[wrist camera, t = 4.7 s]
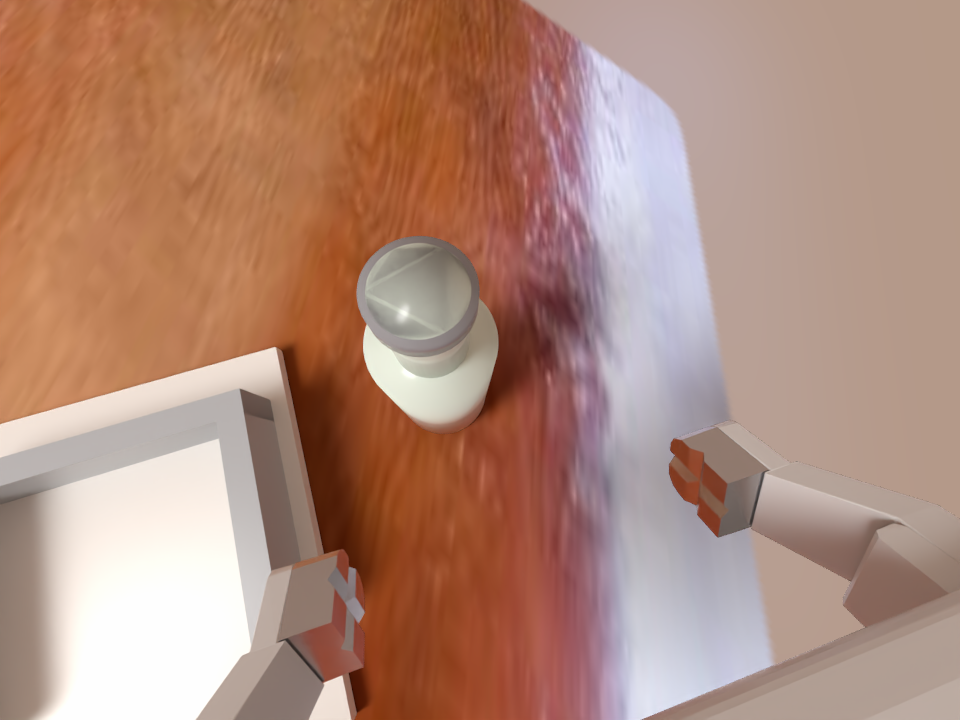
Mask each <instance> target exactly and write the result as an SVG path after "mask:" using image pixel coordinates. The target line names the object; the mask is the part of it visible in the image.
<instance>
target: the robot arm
mask: <svg viewBox="0 0 960 720" xmlns="http://www.w3.org/2000/svg"><path fill="white" fill-rule="evenodd" d="M670 451H671V452H672V453H673V454H674V455H675V456H674V458H673V459H672V460H671V462H670V463H669V475H670V478H671V481H672V483H673V485H674V487H675V489H676V490H677V492H678V493H679V494H680V495H681V497H682V498H683V499H684V500H685V501H688V502H690V503H692V504H695V505H697V515H698V516H699V517H700V518H701V519H702V521H703V522H704V523H705V524H706V525H707V526H708V527H709V528H710V530H711V531H712V532H713V533H714V534H715V535H716V536H717V537H721V536H724V535H727V534H730V533H734V532H737V531H740V530H743V529H746V528H749V527H751V529H752V530H754V531H756V532H758V533H760V534H762V535H764V536H766V537H768V538H770V539H772V540H774V541H775V542H777V543H779V544H781V545H783V546H785V547H787V548H789V549H791V550H792V551H794V552H796V553H798V554H800V555H802V556H804V557H806V558H807V559H809V560H811V561H813V562H815V563H817V564H819V565H821V566H823V567H825V568H826V569H828V570H830V571H832V572H834V573H836V574H838V575H840V576H842V577H844V578H845V579H847V580H849V581H851V583H850V585H849V587H848V589H847V591H846V593H845V595H844V597H843V606H844V607H846V608H847V610H848V611H849V612H851V614H853V615H854V617H855V618H856V619H858V621H860V622H861V623H862V624H863V625H864V626H865V627H866V628H863V629H861V630H859V631H856V632H854V633H851V634H849V635H846V636H844V637H841V638H839V639H837V640H834V641H832V642H829V643H827V644H824V645H822V646H820V647H817V648H815V649H813V650H810V651H807V652H805V653H802V654H800V655H798V656H795V657H793V658H790V659H788V660H785V661H783V662H781V663H778V664H776V665H773V666H771V667H768V668H766V669H764V670H761V671H759V672H756V673H754V674H751V675H749V676H747V677H744V678H742V679H739V680H737V681H734V682H732V683H730V684H727V685H725V686H722V687H720V688H717V689H715V690H713V691H710V692H708V693H705V694H703V695H700V696H698V697H695V698H693V699H691V700H688V701H686V702H683V703H681V704H678V705H676V706H674V707H671V708H669V709H666V710H664V711H661V712H659V713H657V714H654V715H652V716H649V717H647V718H644V719H642V720H960V518H958V517H956V516H955V515H953V514H952V513H950V512H949V511H947V510H945V509H944V508H942V507H941V506H939V505H937V504H933V503H930V502H927V501H924V500H921V499H917V498H914V497H911V496H908V495H904V494H901V493H898V492H895V491H891V490H888V489H885V488H882V487H878V486H875V485H872V484H869V483H866V482H862V481H859V480H856V479H852V478H849V477H846V476H843V475H840V474H837V473H833V472H830V471H827V470H823V469H820V468H817V467H814V466H811V465H807V464H804V463H801V462H798V461H796V462H793V463H790V462H789V461H788V460H786V459H785V458H784V457H782V456H781V455H780V454H778V453H777V452H776V451H774V450H773V449H772V448H770V447H769V446H768V445H767V444H765V443H764V442H762V441H761V440H760V439H759V438H757V437H756V436H755V435H753V434H752V433H751V432H749V431H748V430H746V429H745V428H744V427H743V426H741V425H740V424H739V423H737V422H735V421H732V420H728V421H725V422H722V423H719V424H716V425H713V426H710V427H706V428H703V429H700V430H697V431H694V432H691V433H688V434H685V435H683V436H680V437H677V438H674V439H673V441H672V442H671V448H670ZM364 613H365V597H364V590H363V584H362V581H361V578H360V575H359V574H358V572H357V570H356V569H354V568H351V567H349V557H348V555H347V554H346V552H345V551H344V549H340V550H337V551H333V552H330V553H327V554H323V555H320V556H317V557H313V558H310V559H307V560H303V561H300V562H297V563H294V564H291V565H288V566H284V567H281V568H278V569H275V570H272V572H271V573H270V575H269V577H268V578H267V582H266V586H265V590H264V594H263V598H262V603H261V607H260V611H259V615H258V619H257V623H256V627H255V632H254V636H253V640H252V644H251V648H250V652H249V653H247V654H244V655H242V656H241V657H240V659H239V660H238V661H237V663H236V664H235V666H234V667H233V668H232V670H231V671H230V672H229V674H228V675H227V677H226V678H225V679H224V681H223V682H222V684H221V685H220V686H219V688H218V689H217V690H216V692H215V693H214V695H213V696H212V697H211V699H210V700H209V702H208V703H207V704H206V706H205V707H204V709H203V710H202V711H201V713H200V714H199V715H198V717H197V718H196V720H309V718H310V716H311V714H312V711H313V709H314V707H315V705H316V703H317V700H318V698H319V696H320V694H321V692H322V690H323V687H324V684H323V683H324V682H327V681H329V680H332V679H334V678H337V677H339V676H342V675H344V674H347V673H349V672H352V671H354V670H357V669H360V668H362V667H364V638H365V633H364V631H363V630H362V628H361V627H360V625H359V624H358V623H359V622H360V620H361V618H362V616H363V614H364Z"/></svg>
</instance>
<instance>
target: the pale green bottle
mask: <svg viewBox="0 0 960 720" xmlns="http://www.w3.org/2000/svg"><path fill="white" fill-rule="evenodd" d="M357 301H358V307H359V309H360V312H361V315H362V317H363V318H364V320H365V322H366V323H367V326H366V329H365V333H364V341H363V350H364V357H365V362H366V365H367V368H368V370H369V372H370V374H371V376H372V377H373V379H374V380H375V382H376V383H377V384H378V385H379V387H380V388H381V389H382V390H383V391H384V392H385V393H386V394H387V395H388V396H389V397H390V398H391V399H392V400H393V401H394V402H395V403H396V404H397V405H398V406H399V407H400V408H401V409H402V410H403V411H404V412H405V413H406V414H407V415H408V416H409V417H410V418H411V419H412V420H413V421H414V422H415V423H416V424H417V425H418V426H419V427H421V428H422V429H424V430H426V431H429V432H432V433H437V434H450V433H455V432H458V431H460V430H462V429H464V428H466V427H467V426H469V425H470V424H471V423H472V422H473V421H474V420H475V419H476V418H477V417H478V415H479V414H480V412H481V410H482V408H483V405H484V401H485V398H486V394H487V390H488V387H489V383H490V380H491V376H492V372H493V369H494V365H495V362H496V358H497V354H498V332H497V328H496V324H495V321H494V319H493V317H492V314H491V313H490V311H489V309H488V308H487V307H486V305H485V304H484V303H483V302H482V301H481V300H480V299H479V281H478V277H477V273H476V271H475V269H474V267H473V265H472V263H471V262H470V260H469V259H468V258H467V257H466V255H465V254H463V253H462V252H461V251H460V250H459V249H458V248H456V247H455V246H453V245H452V244H450V243H448V242H446V241H443V240H441V239H437V238H433V237H427V236H413V237H406V238H402V239H399V240H396V241H393V242H391V243H389V244H387V245H385V246H384V247H382V248H381V249H380V250H378V251H377V252H376V253H375V254H374V255H373V256H372V257H371V258H370V259H369V260H368V262H367V263H366V264H365V266H364V268H363V270H362V272H361V274H360V277H359V280H358V285H357Z"/></svg>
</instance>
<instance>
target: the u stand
mask: <svg viewBox="0 0 960 720" xmlns="http://www.w3.org/2000/svg"><path fill="white" fill-rule="evenodd" d="M323 554H324V552H323V547H322V542H321V537H320V532H319V527H318V522H317V518H316V513H315V508H314V503H313V498H312V493H311V488H310V484H309V479H308V474H307V469H306V464H305V459H304V455H303V450H302V445H301V440H300V435H299V430H298V425H297V421H296V416H295V411H294V406H293V401H292V396H291V391H290V387H289V382H288V377H287V372H286V367H285V362H284V357H283V353H282V351H281V350H280V349H278V348H277V347H274V348H270V349H266V350H263V351H259V352H256V353H252V354H249V355H245V356H241V357H238V358H234V359H231V360H227V361H224V362H220V363H217V364H213V365H209V366H206V367H202V368H199V369H195V370H192V371H188V372H184V373H181V374H177V375H174V376H170V377H167V378H163V379H160V380H156V381H152V382H149V383H145V384H142V385H138V386H135V387H131V388H127V389H124V390H120V391H117V392H113V393H110V394H106V395H103V396H99V397H95V398H92V399H88V400H85V401H81V402H78V403H74V404H70V405H67V406H63V407H60V408H56V409H53V410H49V411H46V412H42V413H38V414H35V415H31V416H28V417H24V418H21V419H17V420H14V421H10V422H6V423H3V424H0V720H196V718H197V717H198V715H199V714H200V713H201V711H202V710H203V709H204V707H205V706H206V704H207V703H208V702H209V700H210V699H211V697H212V696H213V695H214V693H215V692H216V690H217V689H218V688H219V686H220V685H221V684H222V682H223V681H224V679H225V678H226V677H227V675H228V674H229V672H230V671H231V670H232V668H233V667H234V666H235V664H236V663H237V661H238V660H239V659H240V657H241V656H242V655H244V654H247V653H249V652H250V648H251V644H252V640H253V636H254V632H255V627H256V623H257V619H258V615H259V611H260V607H261V603H262V598H263V594H264V590H265V586H266V582H267V578H268V577H269V575H270V573H271V572H272V570H275V569H278V568H281V567H284V566H288V565H291V564H294V563H297V562H300V561H303V560H307V559H310V558H313V557H317V556H320V555H323ZM323 684H324V687H323V690H322V692H321V694H320V696H319V698H318V700H317V703H316V705H315V707H314V709H313V711H312V714H311V716H310V718H309V720H354V719H355V717H356V715H357V712H356V707H355V702H354V697H353V692H352V687H351V683H350V678H349V673H347V674H344V675H342V676H339V677H337V678H334V679H332V680H329V681H327V682H324V683H323Z"/></svg>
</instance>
